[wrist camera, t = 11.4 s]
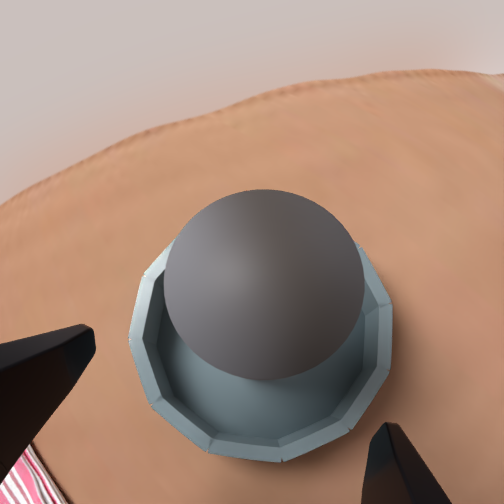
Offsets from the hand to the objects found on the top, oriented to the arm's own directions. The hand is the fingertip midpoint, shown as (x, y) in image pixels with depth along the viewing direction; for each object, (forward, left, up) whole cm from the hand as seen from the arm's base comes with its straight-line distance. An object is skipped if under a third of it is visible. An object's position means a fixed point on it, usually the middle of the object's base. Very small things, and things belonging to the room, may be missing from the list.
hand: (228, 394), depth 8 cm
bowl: (+3, +1, -10) cm, 10 cm away
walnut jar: (+3, +1, -9) cm, 10 cm away
